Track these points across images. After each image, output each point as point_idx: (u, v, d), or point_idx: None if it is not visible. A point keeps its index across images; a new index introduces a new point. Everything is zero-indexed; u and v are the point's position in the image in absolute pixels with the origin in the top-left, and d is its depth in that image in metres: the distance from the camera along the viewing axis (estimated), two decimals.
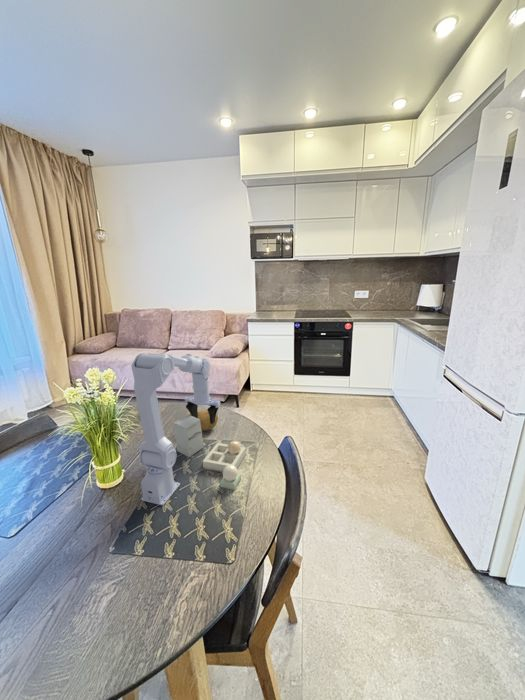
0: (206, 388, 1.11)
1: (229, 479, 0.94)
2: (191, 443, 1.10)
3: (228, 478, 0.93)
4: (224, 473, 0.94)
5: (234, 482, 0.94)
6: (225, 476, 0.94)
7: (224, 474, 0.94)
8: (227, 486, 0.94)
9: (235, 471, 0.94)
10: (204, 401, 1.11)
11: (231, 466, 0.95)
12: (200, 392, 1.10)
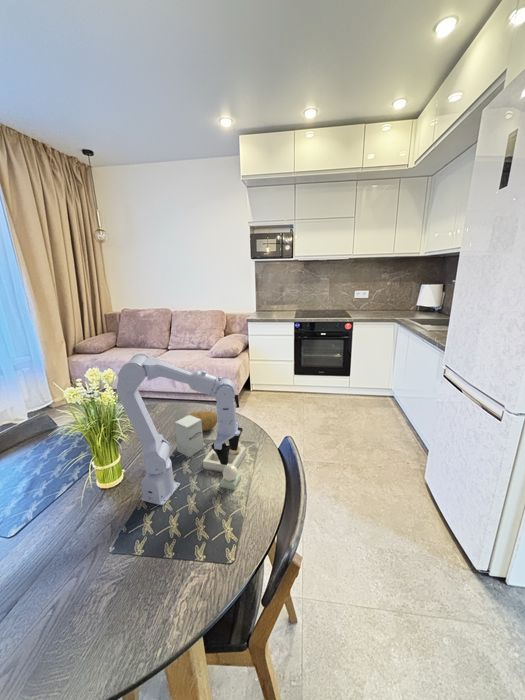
0: (224, 419, 0.88)
1: (229, 479, 0.94)
2: (191, 443, 1.10)
3: (228, 478, 0.93)
4: (224, 473, 0.94)
5: (234, 482, 0.94)
6: (225, 476, 0.94)
7: (224, 474, 0.94)
8: (227, 486, 0.94)
9: (235, 471, 0.94)
10: (218, 432, 0.90)
11: (231, 466, 0.95)
12: (217, 419, 0.90)
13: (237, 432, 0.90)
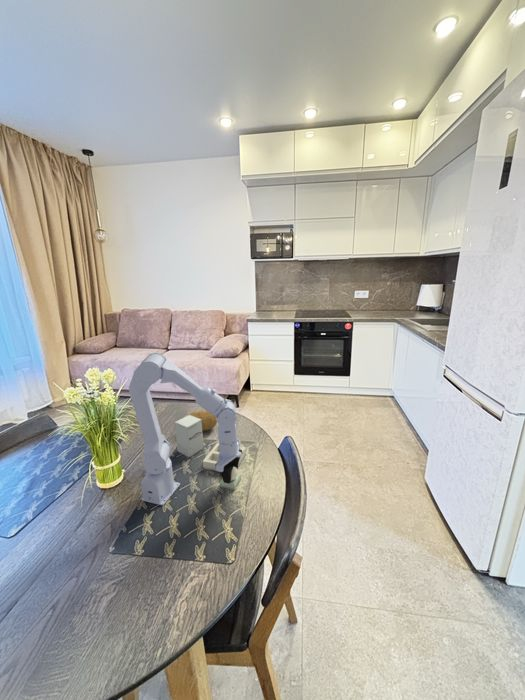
0: (225, 442, 0.89)
1: None
2: (191, 443, 1.10)
3: None
4: None
5: (234, 482, 0.94)
6: None
7: None
8: (227, 486, 0.94)
9: (235, 471, 0.94)
10: (220, 453, 0.92)
11: None
12: None
13: (238, 453, 0.92)
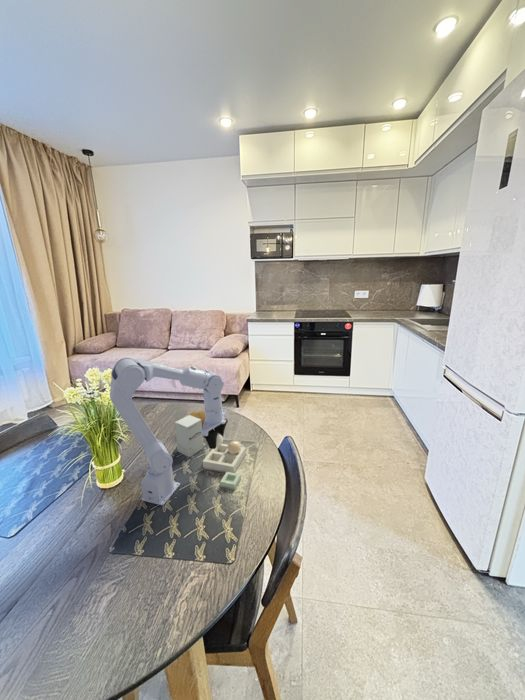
0: (214, 408, 0.96)
1: None
2: (191, 443, 1.10)
3: None
4: None
5: (234, 482, 0.94)
6: None
7: None
8: (227, 486, 0.94)
9: (220, 438, 1.00)
10: (206, 420, 0.98)
11: None
12: None
13: (223, 421, 0.98)
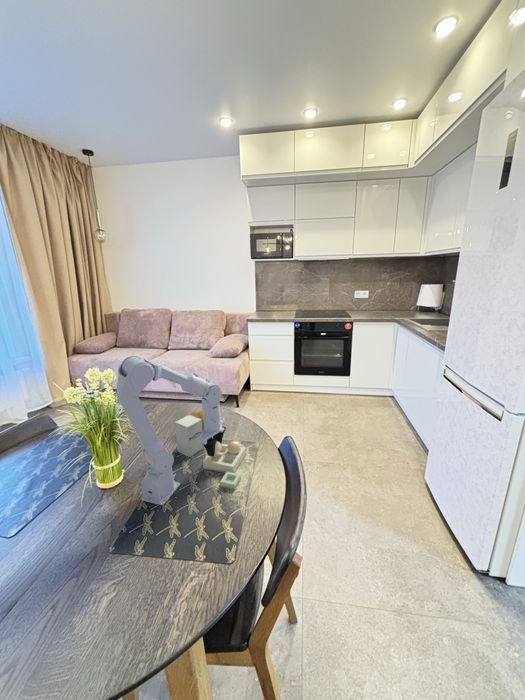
0: (214, 417, 0.98)
1: None
2: (191, 443, 1.10)
3: None
4: None
5: (234, 482, 0.94)
6: None
7: None
8: (227, 486, 0.94)
9: (219, 445, 1.03)
10: (204, 429, 1.01)
11: None
12: (203, 417, 1.01)
13: (221, 429, 1.01)
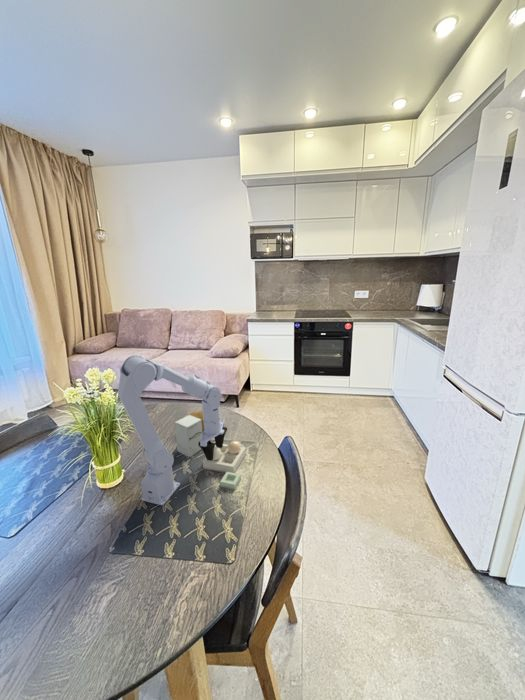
0: (214, 419, 0.99)
1: (213, 459, 1.03)
2: (191, 443, 1.10)
3: None
4: None
5: (234, 482, 0.94)
6: None
7: None
8: (227, 486, 0.94)
9: (219, 452, 1.04)
10: (205, 431, 1.01)
11: (215, 447, 1.04)
12: (203, 419, 1.01)
13: (221, 431, 1.01)
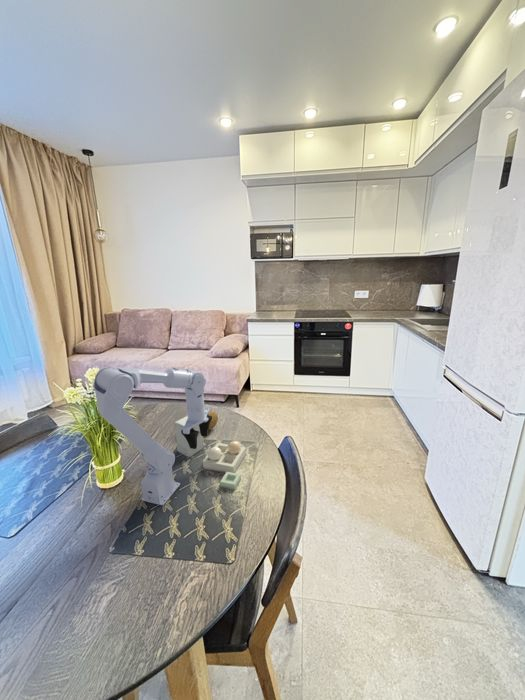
0: (198, 406, 0.97)
1: (213, 459, 1.03)
2: None
3: (212, 458, 1.03)
4: (209, 454, 1.03)
5: (234, 482, 0.94)
6: (210, 456, 1.03)
7: (209, 455, 1.03)
8: (227, 486, 0.94)
9: (219, 452, 1.04)
10: (188, 419, 0.99)
11: (215, 447, 1.04)
12: None
13: (205, 419, 0.99)
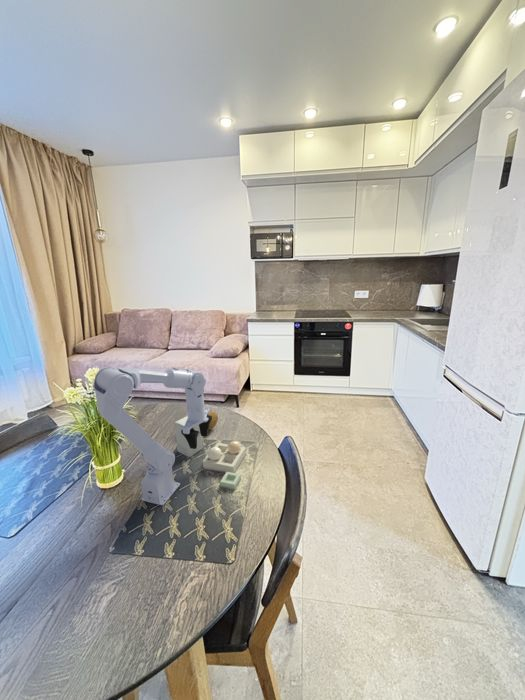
0: (198, 406, 0.97)
1: (213, 459, 1.03)
2: None
3: (212, 458, 1.03)
4: (209, 454, 1.03)
5: (234, 482, 0.94)
6: (210, 456, 1.03)
7: (209, 455, 1.03)
8: (227, 486, 0.94)
9: (219, 452, 1.04)
10: (188, 419, 0.99)
11: (215, 447, 1.04)
12: None
13: (205, 419, 0.99)
